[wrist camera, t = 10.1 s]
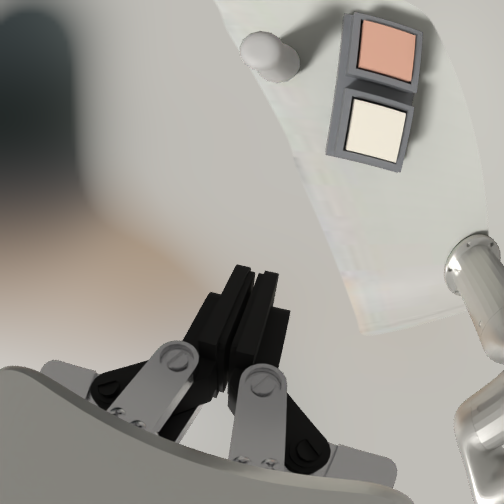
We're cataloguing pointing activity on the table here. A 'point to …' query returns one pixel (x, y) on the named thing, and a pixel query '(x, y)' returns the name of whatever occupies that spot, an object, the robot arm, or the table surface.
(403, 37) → the terracotta key
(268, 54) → the salt shaker
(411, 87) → the key panel
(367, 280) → the table surface
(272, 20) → the table surface
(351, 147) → the ivory key
